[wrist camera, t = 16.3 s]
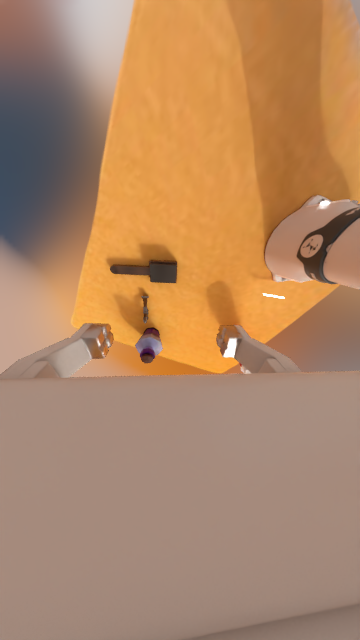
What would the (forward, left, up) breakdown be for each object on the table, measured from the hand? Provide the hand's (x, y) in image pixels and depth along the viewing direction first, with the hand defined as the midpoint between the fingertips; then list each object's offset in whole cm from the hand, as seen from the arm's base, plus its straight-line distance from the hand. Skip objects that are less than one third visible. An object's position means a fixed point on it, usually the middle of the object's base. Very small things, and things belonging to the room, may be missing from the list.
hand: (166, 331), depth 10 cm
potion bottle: (+6, +24, -29) cm, 38 cm away
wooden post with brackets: (+7, +13, -29) cm, 33 cm away
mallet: (+6, +2, -29) cm, 30 cm away
